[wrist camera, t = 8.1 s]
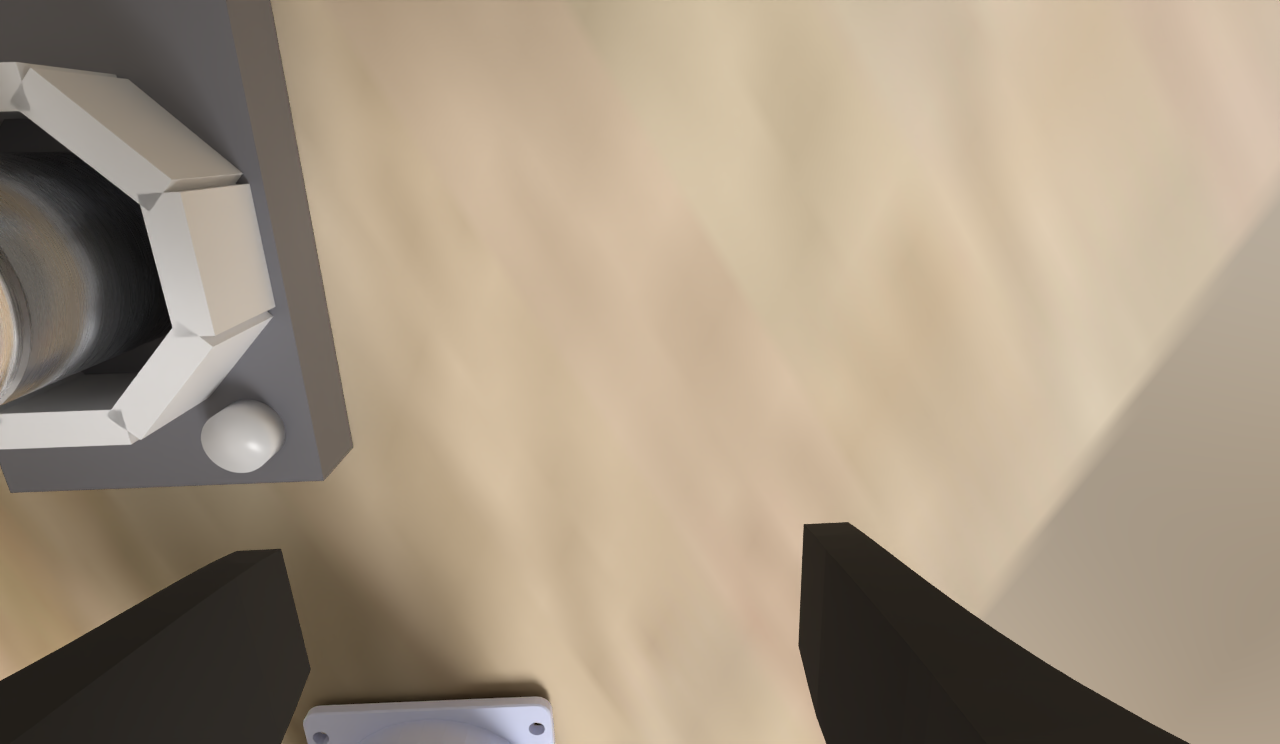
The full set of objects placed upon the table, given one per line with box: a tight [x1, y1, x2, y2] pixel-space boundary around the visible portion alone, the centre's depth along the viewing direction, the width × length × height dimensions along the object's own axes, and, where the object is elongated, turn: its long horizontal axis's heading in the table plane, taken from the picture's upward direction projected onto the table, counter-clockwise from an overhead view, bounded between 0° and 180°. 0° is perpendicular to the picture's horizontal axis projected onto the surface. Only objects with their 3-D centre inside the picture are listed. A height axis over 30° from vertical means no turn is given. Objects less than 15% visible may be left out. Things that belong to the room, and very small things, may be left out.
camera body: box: [0, 0, 353, 493], centre depth 15 cm, size 12×8×4 cm, turn 2°
